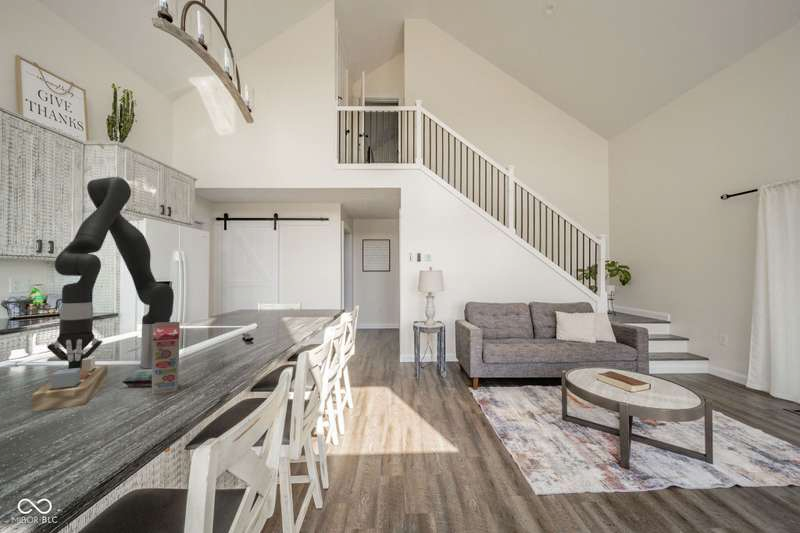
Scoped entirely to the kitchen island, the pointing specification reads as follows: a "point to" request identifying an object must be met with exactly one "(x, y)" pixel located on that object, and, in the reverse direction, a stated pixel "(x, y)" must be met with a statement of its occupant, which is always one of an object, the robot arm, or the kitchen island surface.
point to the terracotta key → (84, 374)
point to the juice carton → (165, 357)
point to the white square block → (88, 363)
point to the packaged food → (139, 378)
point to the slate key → (66, 378)
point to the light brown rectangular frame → (69, 392)
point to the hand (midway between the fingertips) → (74, 372)
